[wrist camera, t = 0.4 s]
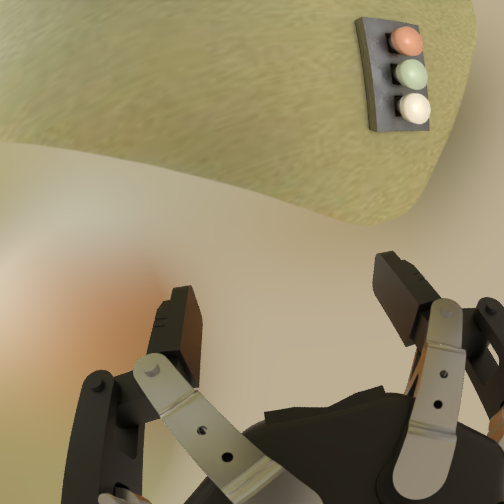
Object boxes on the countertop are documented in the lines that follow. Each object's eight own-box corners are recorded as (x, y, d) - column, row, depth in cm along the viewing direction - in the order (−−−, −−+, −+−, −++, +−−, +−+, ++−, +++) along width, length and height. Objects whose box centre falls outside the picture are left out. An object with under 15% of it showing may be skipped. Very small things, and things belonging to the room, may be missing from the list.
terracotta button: (379, 29, 26) (394, 24, 22) (404, 32, 25) (420, 29, 22) (384, 56, 28) (400, 53, 24) (408, 58, 28) (425, 57, 24)
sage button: (384, 59, 28) (400, 57, 24) (409, 62, 28) (425, 61, 24) (388, 87, 30) (404, 88, 26) (412, 89, 30) (429, 90, 26)
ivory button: (388, 91, 30) (404, 92, 27) (412, 92, 30) (429, 94, 27) (391, 120, 32) (407, 124, 29) (414, 120, 32) (431, 124, 29)
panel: (354, 20, 27) (362, 17, 24) (409, 27, 26) (418, 25, 24) (369, 129, 35) (377, 131, 33) (420, 128, 35) (429, 130, 32)
